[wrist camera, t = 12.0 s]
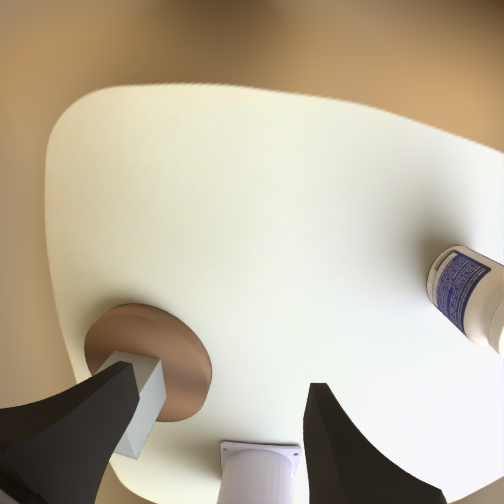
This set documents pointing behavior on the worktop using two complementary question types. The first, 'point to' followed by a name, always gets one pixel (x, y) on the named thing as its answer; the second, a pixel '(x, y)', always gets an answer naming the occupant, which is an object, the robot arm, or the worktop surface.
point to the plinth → (155, 353)
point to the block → (141, 400)
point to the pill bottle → (470, 294)
